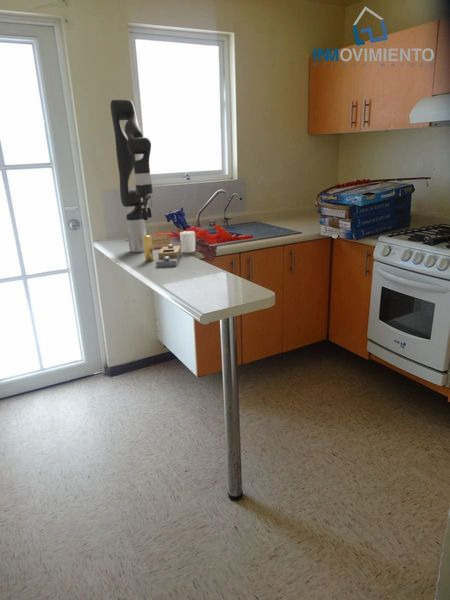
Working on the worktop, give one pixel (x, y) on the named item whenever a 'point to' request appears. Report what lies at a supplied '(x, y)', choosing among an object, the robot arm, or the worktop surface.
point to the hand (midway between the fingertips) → (147, 218)
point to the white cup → (187, 241)
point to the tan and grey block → (169, 256)
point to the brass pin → (148, 248)
